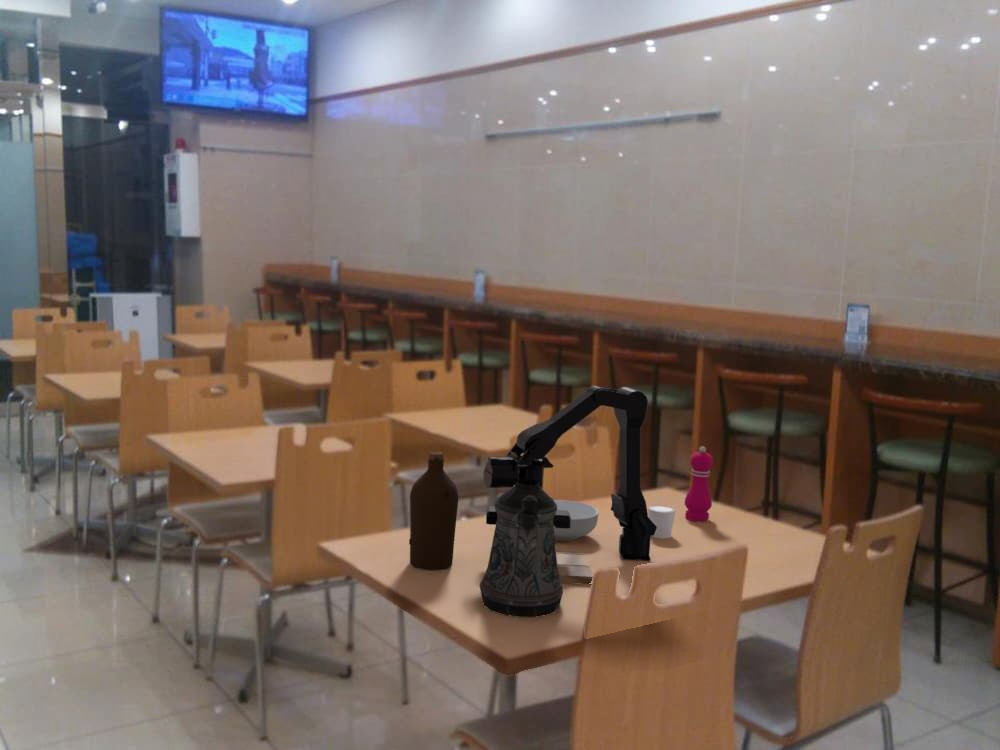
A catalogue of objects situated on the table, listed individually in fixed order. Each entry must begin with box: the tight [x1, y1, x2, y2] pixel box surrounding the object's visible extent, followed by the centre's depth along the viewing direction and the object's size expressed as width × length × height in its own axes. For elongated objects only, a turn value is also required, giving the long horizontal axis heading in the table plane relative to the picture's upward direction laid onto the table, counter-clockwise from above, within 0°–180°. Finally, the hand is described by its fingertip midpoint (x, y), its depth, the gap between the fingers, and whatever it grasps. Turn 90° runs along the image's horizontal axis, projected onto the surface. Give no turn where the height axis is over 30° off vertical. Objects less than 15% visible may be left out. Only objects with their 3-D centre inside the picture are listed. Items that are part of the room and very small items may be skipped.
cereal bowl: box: [553, 499, 599, 541], centre depth 249 cm, size 17×17×7 cm
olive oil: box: [408, 450, 460, 571], centre depth 221 cm, size 11×11×25 cm
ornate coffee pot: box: [479, 479, 564, 618], centre depth 198 cm, size 16×19×25 cm
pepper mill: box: [684, 445, 714, 522], centre depth 271 cm, size 7×7×20 cm
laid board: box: [557, 565, 594, 585], centre depth 218 cm, size 18×7×2 cm, turn 90°
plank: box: [556, 551, 588, 566], centre depth 225 cm, size 17×7×2 cm, turn 90°
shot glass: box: [647, 504, 676, 540], centre depth 254 cm, size 7×7×7 cm
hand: (525, 554), depth 226 cm, fingers closed, pressing on plank
